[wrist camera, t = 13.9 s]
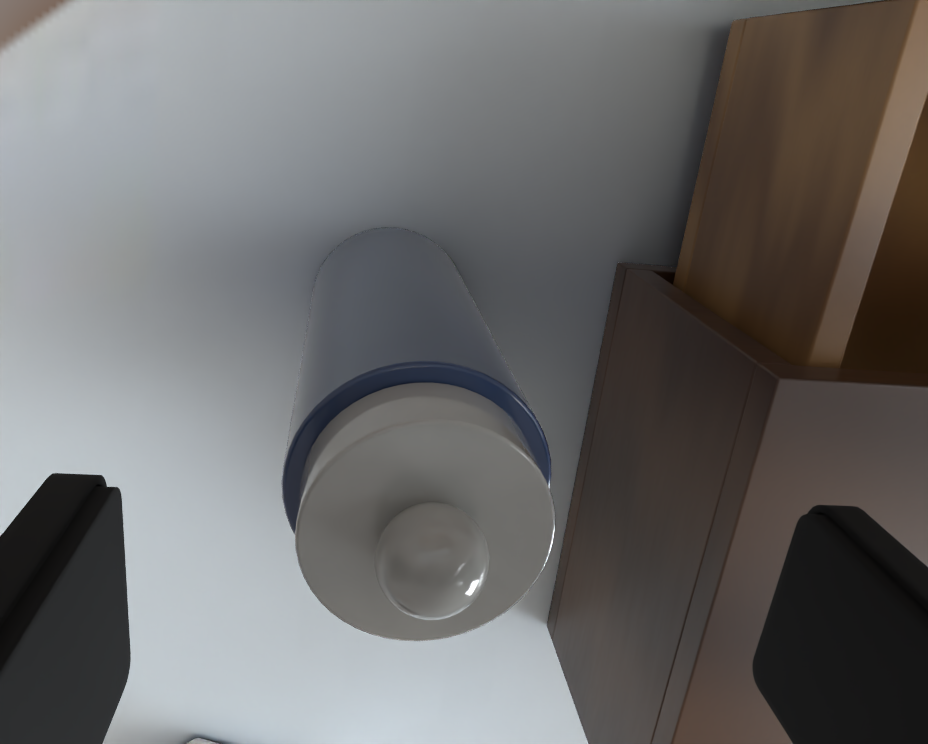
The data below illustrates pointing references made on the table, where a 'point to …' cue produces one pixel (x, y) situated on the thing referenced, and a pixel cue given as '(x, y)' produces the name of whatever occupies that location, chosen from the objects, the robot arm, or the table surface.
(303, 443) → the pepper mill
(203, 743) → the jar
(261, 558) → the table surface
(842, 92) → the drawer
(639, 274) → the cabinet
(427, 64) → the table surface
